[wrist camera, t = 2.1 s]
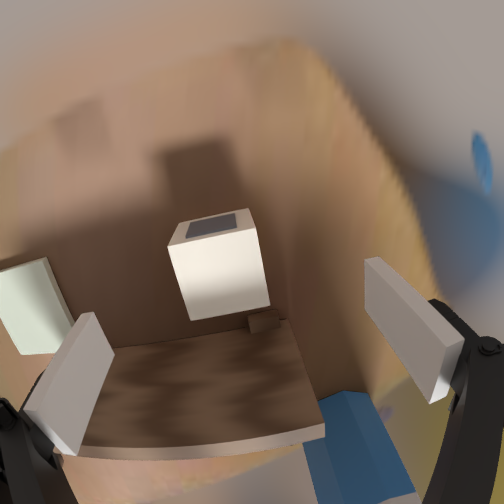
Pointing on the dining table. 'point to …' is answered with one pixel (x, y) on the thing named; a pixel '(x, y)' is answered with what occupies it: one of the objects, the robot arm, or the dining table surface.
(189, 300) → the white cube
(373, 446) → the water bottle
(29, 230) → the dining table surface
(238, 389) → the walnut screen
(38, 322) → the coaster
